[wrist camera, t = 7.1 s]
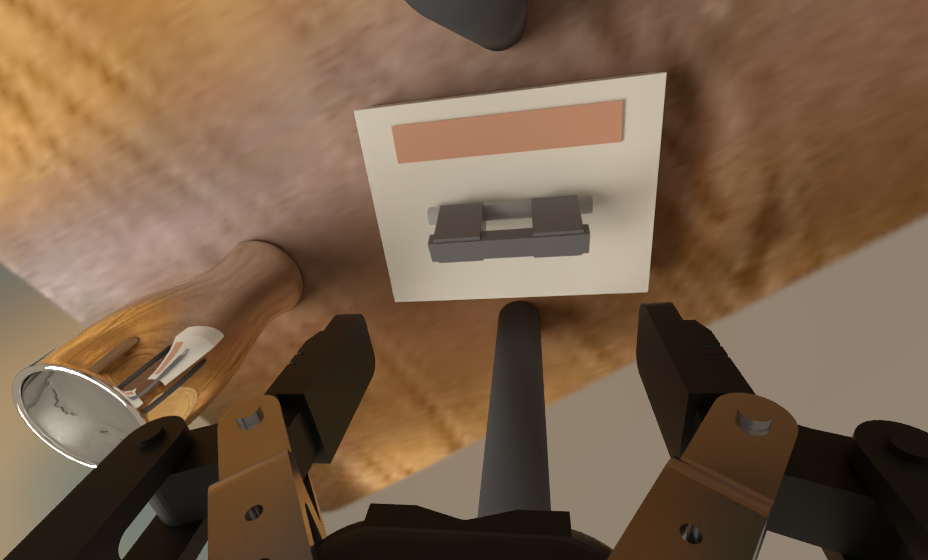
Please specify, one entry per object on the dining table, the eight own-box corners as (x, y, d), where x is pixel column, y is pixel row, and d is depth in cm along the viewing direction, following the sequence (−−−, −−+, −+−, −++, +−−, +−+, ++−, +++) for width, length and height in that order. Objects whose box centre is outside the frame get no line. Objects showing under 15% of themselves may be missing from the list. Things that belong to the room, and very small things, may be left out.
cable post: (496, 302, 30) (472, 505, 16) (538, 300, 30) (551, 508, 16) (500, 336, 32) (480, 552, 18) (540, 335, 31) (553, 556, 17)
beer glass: (310, 246, 30) (143, 384, 17) (308, 324, 34) (166, 491, 20) (219, 224, 31) (-17, 344, 17) (226, 304, 34) (31, 456, 20)
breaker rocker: (428, 199, 24) (417, 241, 21) (591, 186, 22) (601, 230, 20) (433, 222, 25) (423, 265, 22) (589, 210, 23) (599, 255, 21)
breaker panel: (371, 106, 25) (352, 110, 23) (650, 72, 23) (667, 72, 20) (406, 281, 31) (394, 303, 28) (636, 270, 28) (648, 293, 25)
